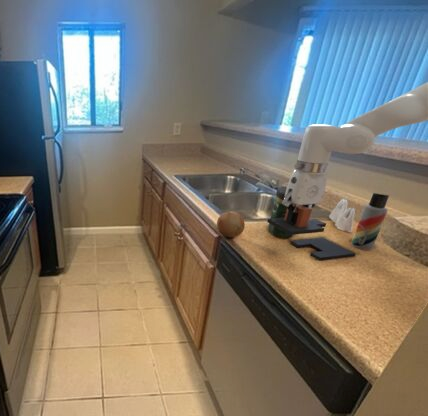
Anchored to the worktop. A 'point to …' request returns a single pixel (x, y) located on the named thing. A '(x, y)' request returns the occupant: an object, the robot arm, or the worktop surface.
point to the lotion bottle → (370, 222)
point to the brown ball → (230, 224)
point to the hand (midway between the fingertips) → (295, 221)
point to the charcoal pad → (323, 248)
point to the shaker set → (343, 216)
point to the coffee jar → (279, 213)
